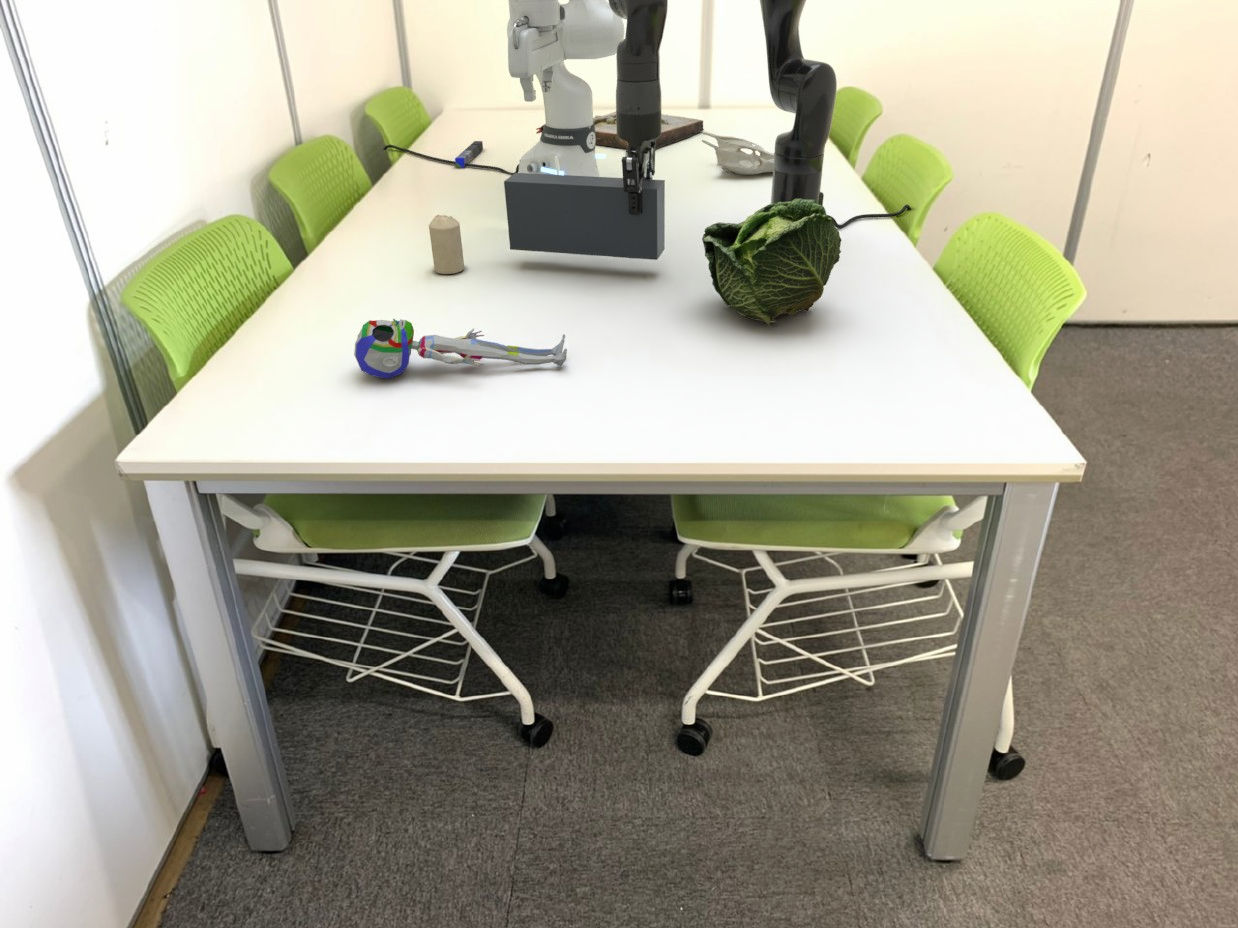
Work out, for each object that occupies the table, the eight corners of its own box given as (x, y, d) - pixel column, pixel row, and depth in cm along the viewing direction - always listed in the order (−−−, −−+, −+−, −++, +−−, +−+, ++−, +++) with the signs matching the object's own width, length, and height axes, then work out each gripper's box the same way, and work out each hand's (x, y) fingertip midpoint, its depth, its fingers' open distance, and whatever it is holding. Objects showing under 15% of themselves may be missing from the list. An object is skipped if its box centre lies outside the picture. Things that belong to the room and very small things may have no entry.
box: (510, 249, 165) (503, 181, 158) (521, 239, 170) (515, 172, 163) (657, 260, 158) (657, 189, 152) (664, 249, 163) (664, 180, 156)
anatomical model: (704, 128, 226) (804, 127, 222) (703, 165, 231) (801, 165, 227) (699, 142, 214) (805, 141, 210) (699, 181, 219) (803, 181, 215)
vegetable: (733, 339, 155) (677, 239, 148) (822, 277, 157) (772, 174, 149) (783, 360, 137) (723, 247, 129) (884, 290, 138) (830, 173, 131)
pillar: (482, 141, 246) (462, 159, 229) (483, 149, 247) (463, 167, 230) (474, 141, 246) (454, 159, 230) (475, 149, 247) (455, 167, 231)
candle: (469, 265, 169) (463, 213, 163) (455, 275, 164) (449, 221, 159) (443, 262, 170) (437, 210, 165) (429, 272, 166) (422, 219, 160)
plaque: (647, 125, 237) (559, 112, 252) (647, 153, 241) (560, 139, 256) (706, 107, 258) (622, 97, 273) (705, 133, 262) (622, 121, 277)
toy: (569, 347, 126) (349, 329, 122) (563, 400, 131) (350, 385, 126) (565, 318, 135) (359, 301, 130) (559, 369, 139) (360, 354, 134)
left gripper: (530, 21, 151) (535, 107, 158) (568, 8, 168) (571, 87, 175) (495, 20, 152) (502, 106, 160) (536, 7, 169) (541, 86, 176)
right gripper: (650, 117, 142) (650, 223, 151) (670, 100, 153) (669, 198, 162) (604, 116, 143) (608, 220, 152) (628, 98, 155) (629, 196, 164)
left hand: (539, 96), depth 168 cm, fingers open, 8 cm apart
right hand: (639, 208), depth 157 cm, fingers closed on box, 5 cm apart
